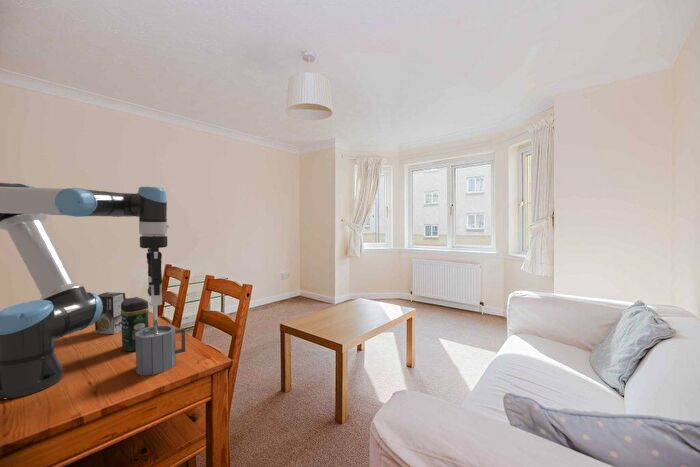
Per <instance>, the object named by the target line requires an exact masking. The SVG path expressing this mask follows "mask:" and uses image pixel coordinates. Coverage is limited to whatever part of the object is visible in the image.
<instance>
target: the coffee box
mask: <svg viewBox="0 0 700 467" xmlns="http://www.w3.org/2000/svg"><path fill="white" fill-rule="evenodd" d="M97 295H98V296H99V298H100V299H101V301H102V306H103V309H102V313H101V316H100V318H99V319H98V320H97V322H95V323H94V330H95V332H94V333H95V334H105V335H106V334H107V335H109V334H110V335H115V334H118V333H121V332H122V323H121V303H122V302H123V301H124V300H125V299H126V293H125V292H109V291H107V292H103V293H99V294H97Z"/></svg>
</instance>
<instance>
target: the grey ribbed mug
mask: <svg viewBox="0 0 700 467" xmlns="http://www.w3.org/2000/svg"><path fill="white" fill-rule="evenodd" d="M159 329H166V330H169V332H166V333H163V334H160V335H155V336H141V335H142V334H144V333H146V332H149V331H153V325H151V326H149V327H147V328H144V329H141V330H139V331H138V332H136V333H135V340H136V351H135V365H136V366H135V369H136V374H137V375H141V376H151V375H152V376H153V375H157V374H161V373H164V372H166V371H168V370H170V369H172V368H173V367H174V366H176V363H177V360H176V357H177V354H180V353H184V352H185V353H186V328H185V327H182V328H176V327H175V325H171V324H158V330H159ZM176 334H180V337H181V338H180V339H181V340H180V344H181V346H180V347H181V348H176Z"/></svg>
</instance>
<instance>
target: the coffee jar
mask: <svg viewBox="0 0 700 467" xmlns="http://www.w3.org/2000/svg"><path fill="white" fill-rule="evenodd" d="M121 323H122V331H121V345H122V348H123V350H125V351H127V352H134V351H135V352H136V340H135V333H136V332H138V331H139V330H141V329H144V328H147V327H150V326H149V324H150V322H149V301H148V300H146V299H143V298H141V297H138V296H134V297H129V298H125V300H124V301H123V302H122V303H121Z"/></svg>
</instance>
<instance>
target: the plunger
mask: <svg viewBox="0 0 700 467" xmlns="http://www.w3.org/2000/svg"><path fill="white" fill-rule="evenodd" d="M147 294H148V296H149V295H150V296H149V297H151V286H149V288H148V287H147ZM158 314H159V313H158V305H156V306H152V319H153V321H152V324H153V325H152V326H153V331H149V332H146V333H144V334H142V335H141V336H155V335H160V334H163V333H166V332H169V330H166V329H159V330H158V325H159V322H158V320H159V318H158V317H159V316H158Z"/></svg>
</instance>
